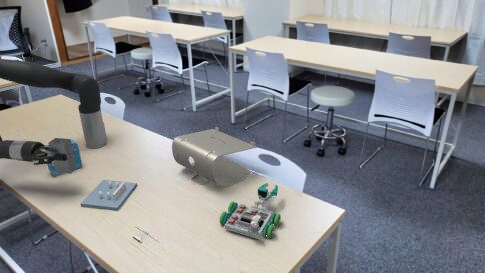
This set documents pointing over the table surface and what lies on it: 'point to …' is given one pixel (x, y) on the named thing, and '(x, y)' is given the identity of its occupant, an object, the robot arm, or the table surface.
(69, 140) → the dark grey rectangular block
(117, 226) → the table surface
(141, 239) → the picture light
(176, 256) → the table surface
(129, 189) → the pin tray
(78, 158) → the data package
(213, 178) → the curved metal cover
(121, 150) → the table surface
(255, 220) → the robot kit
